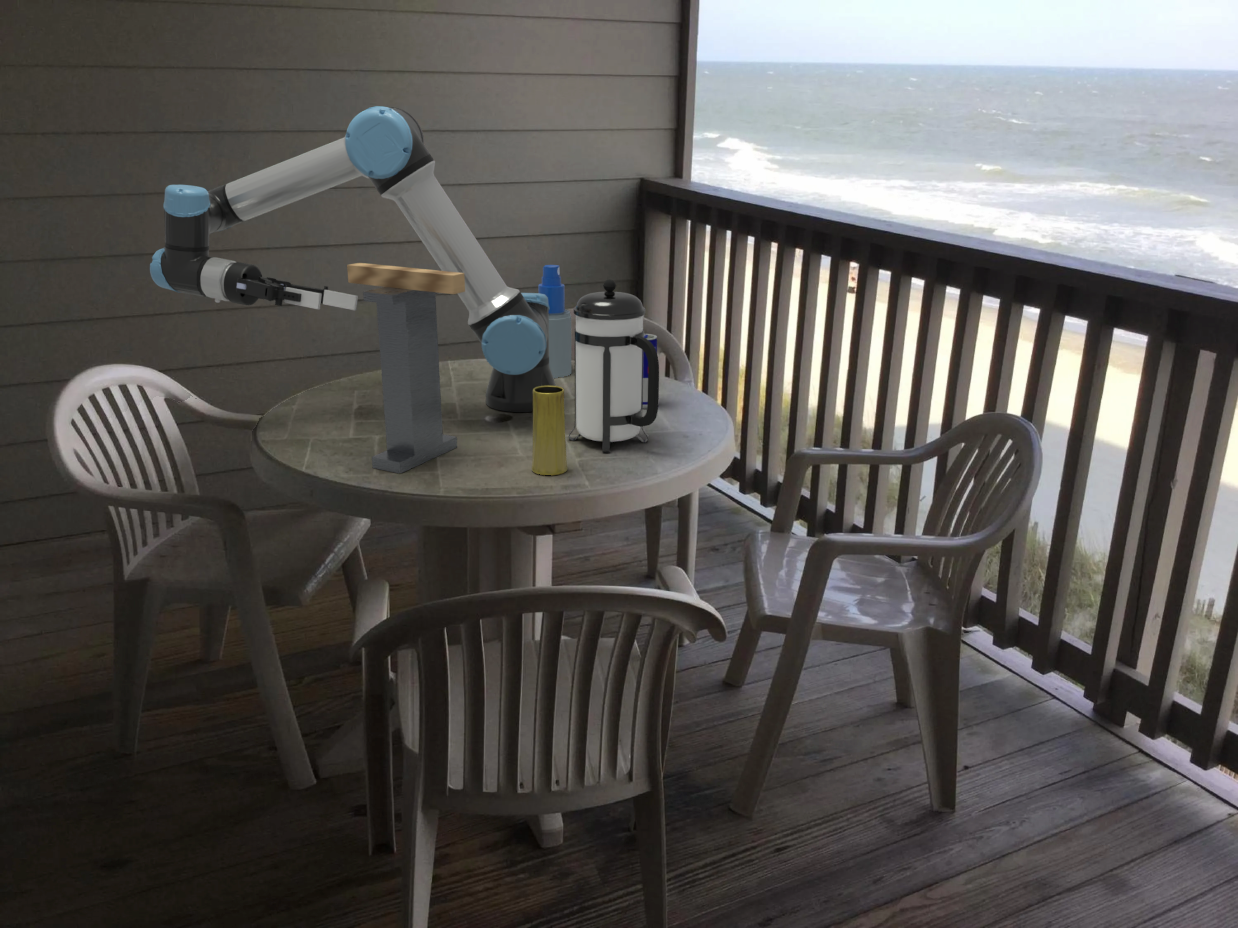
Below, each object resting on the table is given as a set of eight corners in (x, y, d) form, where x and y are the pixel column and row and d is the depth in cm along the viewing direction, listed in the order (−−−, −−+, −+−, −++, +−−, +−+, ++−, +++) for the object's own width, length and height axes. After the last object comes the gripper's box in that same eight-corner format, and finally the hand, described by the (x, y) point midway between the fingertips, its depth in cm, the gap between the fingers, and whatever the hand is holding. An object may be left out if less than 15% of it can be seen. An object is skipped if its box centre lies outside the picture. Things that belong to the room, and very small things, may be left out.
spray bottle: (577, 370, 235) (576, 264, 226) (563, 379, 227) (562, 269, 218) (542, 367, 237) (540, 261, 229) (527, 376, 229) (524, 267, 221)
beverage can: (653, 410, 204) (655, 338, 199) (629, 408, 205) (630, 337, 200) (657, 403, 209) (659, 333, 204) (633, 402, 210) (634, 332, 205)
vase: (531, 464, 172) (530, 384, 168) (566, 463, 173) (566, 384, 168) (531, 476, 167) (530, 394, 162) (568, 475, 167) (567, 394, 162)
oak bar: (348, 282, 169) (347, 265, 168) (360, 280, 171) (359, 262, 170) (454, 294, 159) (453, 275, 158) (465, 291, 162) (464, 273, 161)
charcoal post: (372, 467, 170) (358, 292, 160) (430, 442, 183) (421, 279, 173) (400, 473, 167) (388, 296, 157) (457, 447, 181) (449, 282, 171)
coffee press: (560, 453, 178) (558, 286, 168) (576, 426, 193) (575, 271, 183) (656, 458, 176) (660, 289, 166) (665, 431, 191) (669, 274, 181)
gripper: (268, 303, 196) (367, 323, 192) (189, 300, 172) (300, 323, 168) (272, 265, 194) (372, 284, 191) (193, 257, 170) (305, 278, 167)
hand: (338, 302), depth 179 cm, fingers open, 13 cm apart
